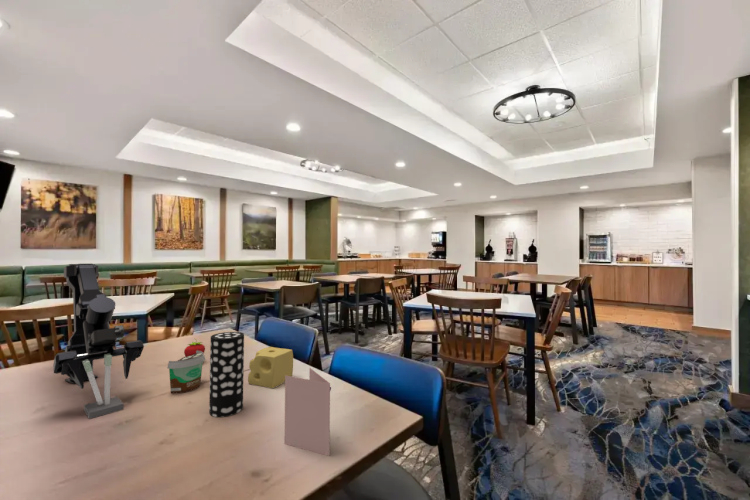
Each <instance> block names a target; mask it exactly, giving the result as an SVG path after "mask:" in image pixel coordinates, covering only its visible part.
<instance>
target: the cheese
mask: <svg viewBox="0 0 750 500" xmlns="http://www.w3.org/2000/svg"><path fill="white" fill-rule="evenodd" d="M248 368H249V370H250V372H248V376H247V381H248V385H252V384H253V385H254V386H260V387H264V388H269V389H272V388H273V389H275V388H277V387H278V386H280V385H281V383H282V384H284V383H285V382H284V381H285V376H291V377H293V371H294V352H293V349H289V348H282V347H281V348H280V347H274V346H268V347H264V348H261V349H259V350H257V351H256V353H255V356H254V358H253V359H251V360H250V361H249V367H248ZM283 382H284V383H283ZM276 386H277V387H276ZM274 387H275V388H274Z"/></svg>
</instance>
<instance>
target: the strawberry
mask: <svg viewBox="0 0 750 500" xmlns="http://www.w3.org/2000/svg"><path fill="white" fill-rule="evenodd" d="M196 351H202V352H203V354H204V355H205V351H206V346H205V345H204V344H203V341H197V339H195V342H194V341H192V343H188V344H187V346H186V347H185V348H184V352H183V354H184V357H186V356H191V355H194V354H196Z"/></svg>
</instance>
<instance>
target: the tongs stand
mask: <svg viewBox="0 0 750 500" xmlns="http://www.w3.org/2000/svg"><path fill="white" fill-rule="evenodd" d="M112 359H113V357H112V355H111V354H104V358H103V365H104V382H103V384H104V385H103V399H102V401H103V404H102V405H100V406H99V405H98V404H97V401H93V402H90V403H86V404H84V405H83V411H84V414H86V416H87V418H88V420H91V419H95V418H97V417H102V416H104V415H105V416H106V415H108V414H113V413H115V412H119V411H123V410H124V403H123V401H122V400H121V399H120V398H119V397H118V396H114V397H111V375H112V374H111V371H112V368H111V367H112V364H113V363H112V361H113V360H112Z"/></svg>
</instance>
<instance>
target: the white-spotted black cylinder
mask: <svg viewBox="0 0 750 500" xmlns="http://www.w3.org/2000/svg"><path fill="white" fill-rule="evenodd" d="M209 343H210V345H209V346H210V347H209V349H210V352H209V355H210V356H209V357H210V358H209V359H210V360H209V402H208V403H209V405H208V406H209V407H208V408H209V409H208V410H209V411H208V412H209V415H210V416H212V417H215V418H225V417H230V416H233V415H236V414H238V413H240V412H241V411H242V410H243V408H244V378H245V377H244V375H245V374H244V372H245V371H244V370H245V368H244V366H245V365H244V363H245V360H244V359H245V355H244V354H245V333H244V332H240V331H226V332H225V331H224V332H219V333H215V334H212V335H210V341H209Z"/></svg>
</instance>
